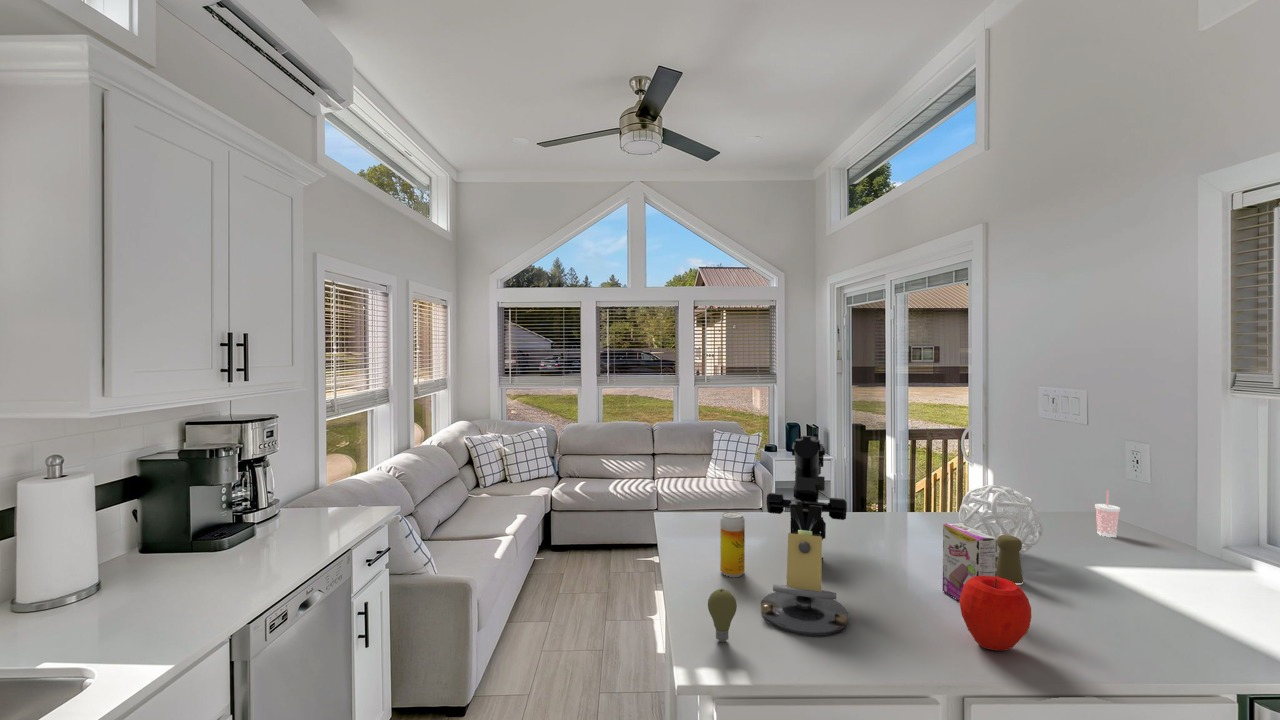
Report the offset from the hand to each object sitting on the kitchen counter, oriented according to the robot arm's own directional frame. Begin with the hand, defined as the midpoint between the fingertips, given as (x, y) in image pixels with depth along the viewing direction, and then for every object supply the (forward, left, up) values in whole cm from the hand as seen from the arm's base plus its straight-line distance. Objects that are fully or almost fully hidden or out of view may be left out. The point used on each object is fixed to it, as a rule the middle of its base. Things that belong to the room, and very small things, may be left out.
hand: (805, 537), depth 132 cm
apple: (-11, +37, -13) cm, 40 cm away
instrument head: (+10, +9, -8) cm, 16 cm away
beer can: (+8, -16, -13) cm, 22 cm away
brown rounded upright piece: (-48, +23, -13) cm, 54 cm away
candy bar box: (-27, +24, -13) cm, 38 cm away
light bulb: (+32, +8, -13) cm, 35 cm away
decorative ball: (-64, +13, -13) cm, 66 cm away
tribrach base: (+10, +9, -12) cm, 18 cm away
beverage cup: (-112, +22, -13) cm, 115 cm away
